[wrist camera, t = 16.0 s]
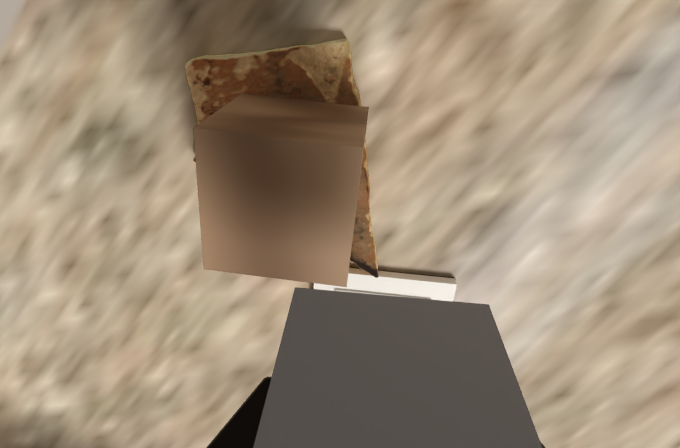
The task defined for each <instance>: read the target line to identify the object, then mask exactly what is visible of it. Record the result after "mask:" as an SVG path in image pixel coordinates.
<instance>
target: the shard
mask: <svg viewBox="0 0 680 448" xmlns="http://www.w3.org/2000/svg"><path fill="white" fill-rule="evenodd" d="M349 45H350V44H349V42H348V40H347V39H346V38H343V39H339V40H332V41H327V42H323V43H320V44H311V45H298V46H292V47H287V48H277V49H273V50H265V51H260V52H247V53H241V54H223V55H204V56H200V57H195V58H193V59H191V60H189V61H188V62H187V63H186V65H185V70H186V75H187V80H188V84H189V87H190V90H191V93H192V98H193V101H194V106H195V110H196V115H197V122H198V124H199V123H201V122H202V121H204V120H205V119H207V118H208V117H209V116H211V115H212V114H214V113H215V112H216V111H218V110H219V109H221V108H222V107H224V106H225V105H226V104H228V103H229V102H231V101H232V100H233V99H235V98H236V97H238V96H239V95H241V94H242V93H245V94H254V95H263V96H272V97H281V98H290V99H299V100H308V101H317V102H326V103H335V104H344V105H353V106H361V101H360V95H359V90H358V88H357V86H356V84H355V82H354V79H353V75H352V65H351V61H352V53H351V51H350V49H349ZM193 161H195V162H196V158H195V157H194V160H193ZM369 198H370V186H369V175H368V170H367V148H366V139H365V142H364V151H363V159H362V167H361V176H360V184H359V192H358V201H357V209H356V217H355V225H354V233H353V241H352V249H351V256H350V260H351V261H353V262H354V263H355V264H356V265H357V266H358V267H359V268H360V269H362V270H364V271H366V272H368V273H370V274H371V275H372V276H374V277H375V278H378V277H379V276H378V262H377V258H376V247H375V242H374V238H373V234H372V224H371V218H370V208H369Z"/></svg>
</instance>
